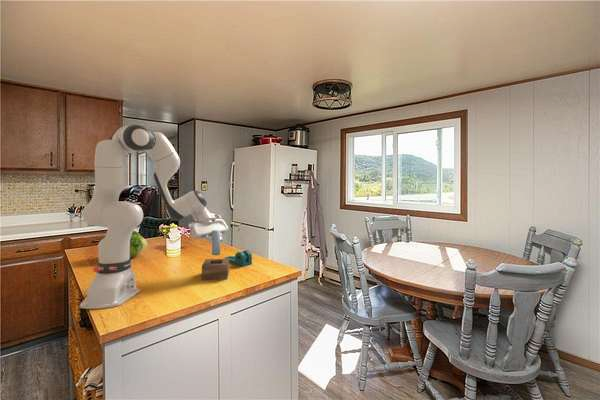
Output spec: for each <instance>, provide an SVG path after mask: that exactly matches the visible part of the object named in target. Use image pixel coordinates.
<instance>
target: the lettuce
mask: <svg viewBox="0 0 600 400" xmlns="http://www.w3.org/2000/svg"><path fill="white" fill-rule="evenodd" d="M147 247H148V241H147V240H146V239H145V238H144V237H143V236H142V235H141V234H140V233H139V232H137V231H136V230H134V231H133V233H132V235H131V238H130V259H131V258H133V257H134V258H135V257H136V256H138V255H139V254H140V253H141V252H143V251H144V250H145V249H146V248H147Z"/></svg>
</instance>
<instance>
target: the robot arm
mask: <svg viewBox="0 0 600 400" xmlns="http://www.w3.org/2000/svg"><path fill="white" fill-rule="evenodd" d="M94 151H95V152H94V190H93V194H92V197H91V199H90V201H89V202H88V203H87V204H86V205H85V206H84V207H83V209H82V218H83V220H84V221H85V222H86V223H88V224H90V225H92V226H93V227H101V228H107V231H106V234H105V237H103V238H102V239H101V240H100V241H99V242H98V244H97V245H98V246H97V248H98V250H97V251H98V253H97V254H98V261H97V264H96V266H94V267H93V269H92V270H93V272H94V273H95V272H96V273H95V275H94V278H93V279H92V281H91V282H90V283H89V286H88V288H87V293H86V297H85V298H84V299H83V300H82V301H81V302H80V304H79V308H81V309H86V310H88V309H89V310H92V309H94V310H95V309H107V308H114V307H118V306H120V305H122V304H124V303H125V302H126V301H128V300H129V299H131V298H132V297H134V296H135V295H137V294H138V293H140V292H141V291H140V290H141V289H140V288H137V284H136V283H137V282H136V274H135V272H134V271H133V270H132V268H131V267H132V259H131V258H130V238H131V235H132V233H133V231H135V229H136V228H137V227H138V226H139V225H140V224H141V223H142V222H143V219H144V212H143V209H142V207H141V206H140V205H138V204H136V203H133V202H130V201H119V199H120V195H121V193H122V192H123V191H124V190H125V189H127V187H128V175H127V174H128V173H127V172H128V170H127V157H128V155H129V153H137V152H143V151H144V152H145V153H147V155H148V156H149V158H150V159H151V161H152V162H153V164H154V167H155V169H154V170H155V171H154V173H153V178H154V181H155V184H156V186H157V188H158V192H159V194H160V196H161V199H162V201H163V203H164V205H165V210H166V212H167V215H168V217H169V218H170V219H171V220H172V221H178V222H180V221H182V220H183V219H185V218H186V217H188V216H189V215H191V216H192V217H193V221H191V222H189V223H187V227H188V229H189V231H190V235H191V237H192V238H193V239H194V240H199V239H205V240H206V241H207V242H209V244H211V245H212V243H214V240H213V239H212V231H213V230H220V243H221V242H223V241H224V239H223V237H222V235H226V234H227V233H228V232H229V226H228V225H227V224H226V222H225V220H223V219H222V216H221V215H220V214H216V213H211V212H210V211H209V209H208V208H207V207H208V206H207V200H206V199H205V197H204V196H203V193H202V192H201V191H199V190H191V191H189V192H186V193H185V194H184V195H182V196H180V197H178V198H177V199H173V198H172V195H171V193H170V190H169V188H168V182H169V180H171V179H172V177H173V176H174V175H175V174H176V173H177V171H178V170H179V168H180V165H181V159H180V156H179V154H178V152H177V151H176V149H175V147H174V146H173V144H172V143H171V141H170V140H169V139H168V137H166V136H165V134H164V133H162V132H160V131H153V132H152V131H151V130H149V129H148V128H146V127H145V126H143V125H140V124H131V125H129V124H128V125H124V126H121V127H119V128H117V129H116V130H115V131H114V132H113V133H112V134H111V136H110V138H109V139H104V140H100V141H99V142H98V143H97V144H96V146H95V150H94Z"/></svg>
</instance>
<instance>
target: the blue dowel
mask: <svg viewBox="0 0 600 400" xmlns="http://www.w3.org/2000/svg"><path fill="white" fill-rule="evenodd" d="M211 239H213V240H214V243H212V244H211V255H212V256H220V255H221V242H220V230H213V231H212V236H211Z"/></svg>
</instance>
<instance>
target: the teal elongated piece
mask: <svg viewBox="0 0 600 400" xmlns="http://www.w3.org/2000/svg"><path fill="white" fill-rule="evenodd" d="M224 259H229V264H231V265H233V266H234V265H235V266H238V267H243V268H244V267H247V266H250V265H253V255H252V252H251V251H250V250H248V249H246V250H242V251H239V252H238V251H237V252H236V253H235V255H229V256H225V257H224Z"/></svg>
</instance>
